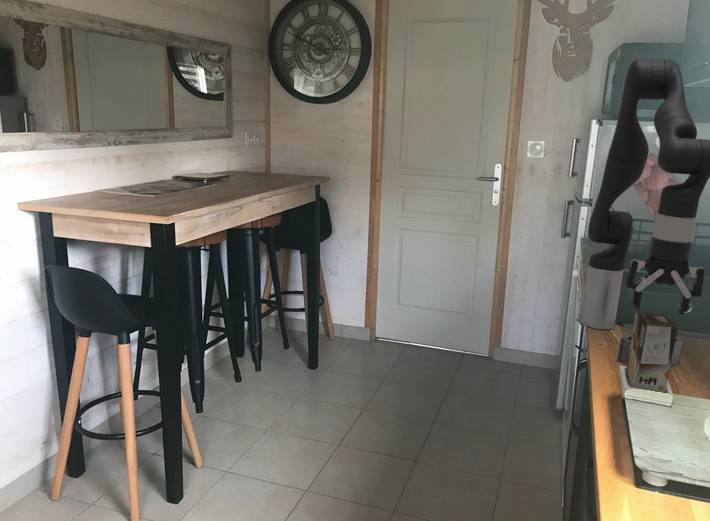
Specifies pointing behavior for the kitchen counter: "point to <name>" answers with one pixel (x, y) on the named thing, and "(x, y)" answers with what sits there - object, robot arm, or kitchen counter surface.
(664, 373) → the coffee box
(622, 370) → the tray
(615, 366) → the kitchen counter surface
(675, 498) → the kitchen counter surface
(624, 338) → the sleeve
